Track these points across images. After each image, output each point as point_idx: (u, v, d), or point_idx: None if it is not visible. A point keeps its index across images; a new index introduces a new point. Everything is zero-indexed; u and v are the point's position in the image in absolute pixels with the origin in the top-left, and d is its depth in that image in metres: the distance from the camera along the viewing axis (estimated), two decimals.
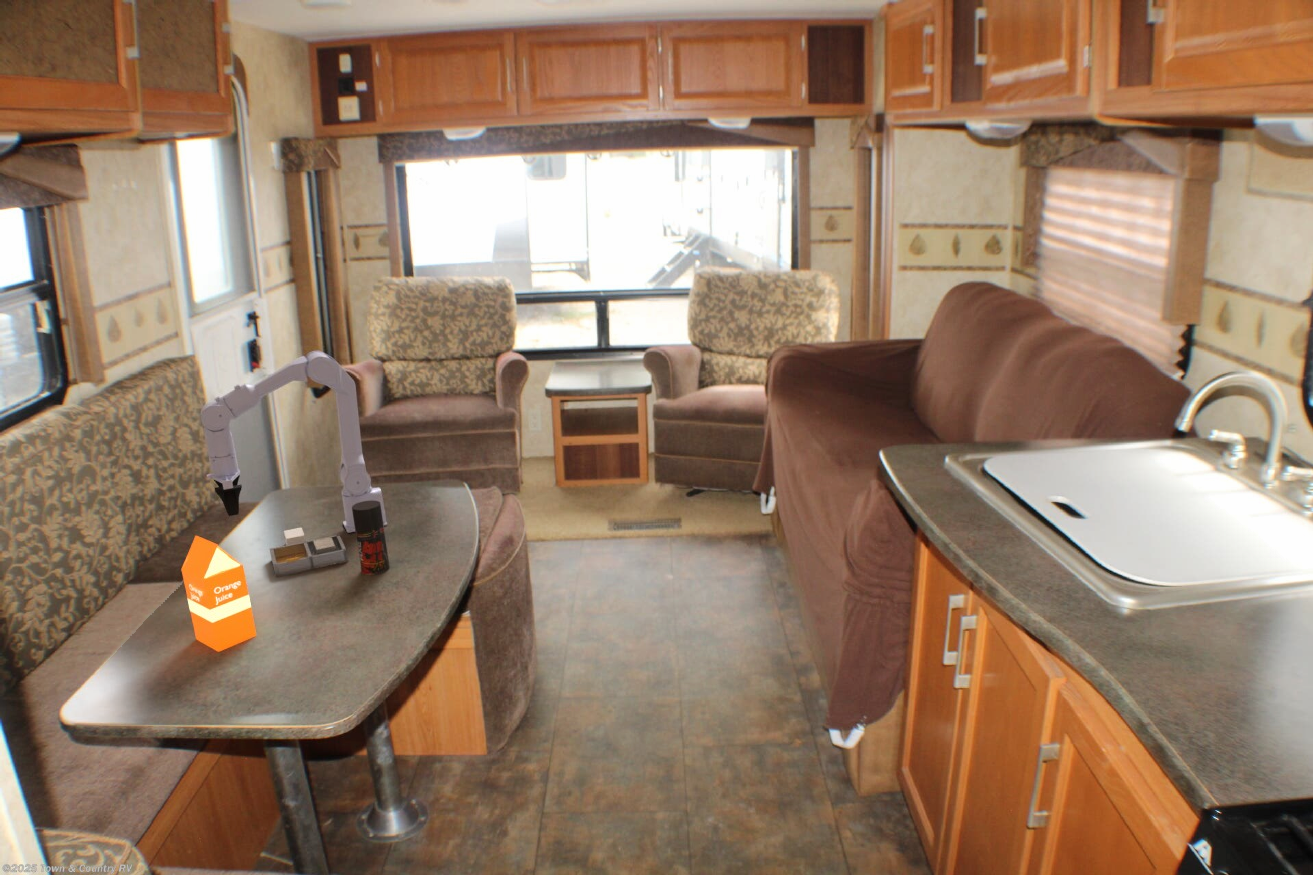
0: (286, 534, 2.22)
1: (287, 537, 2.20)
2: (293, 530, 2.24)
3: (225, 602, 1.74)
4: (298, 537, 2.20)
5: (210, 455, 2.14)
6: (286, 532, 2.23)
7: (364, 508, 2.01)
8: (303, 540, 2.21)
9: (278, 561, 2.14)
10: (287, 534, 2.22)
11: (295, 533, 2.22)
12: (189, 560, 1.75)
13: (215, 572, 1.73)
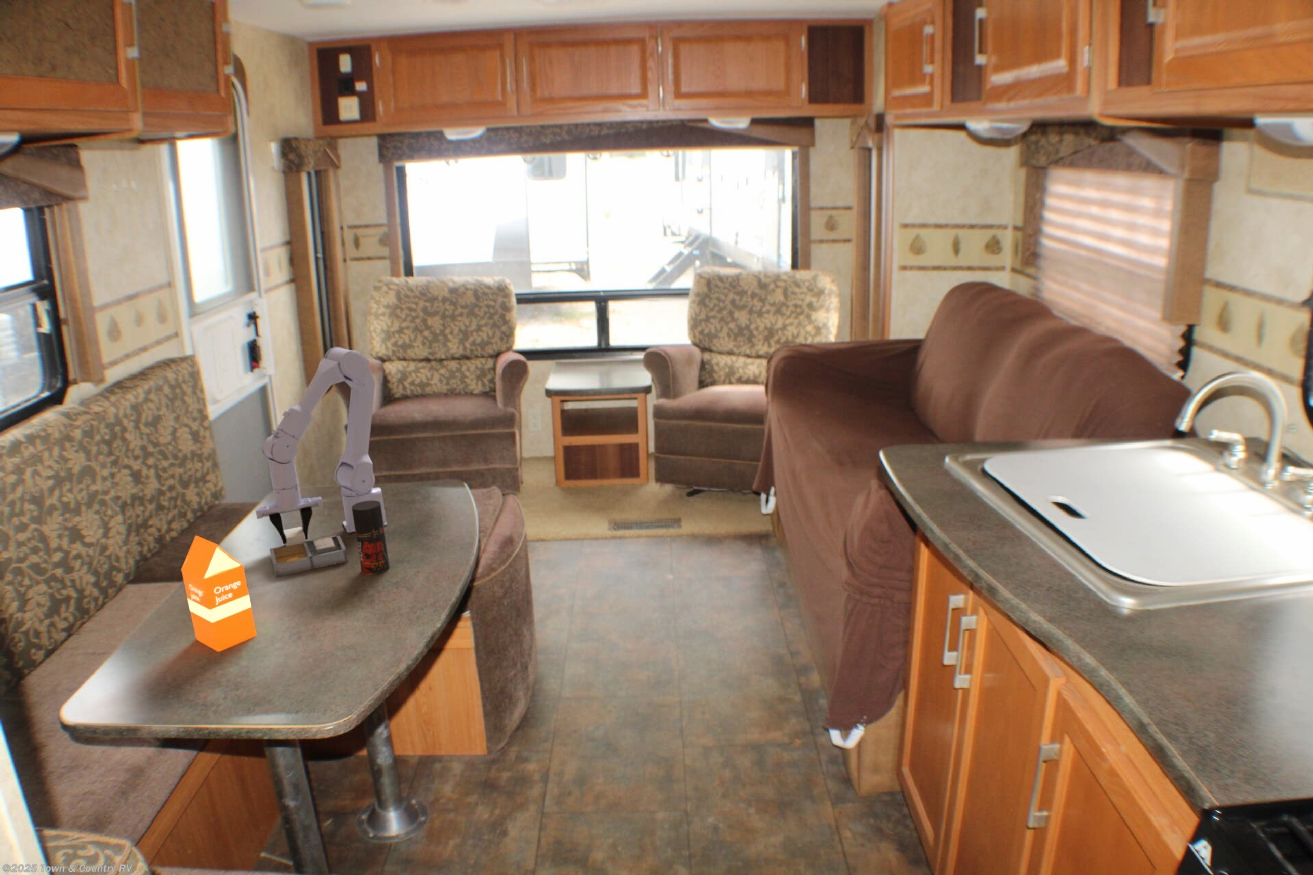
0: (286, 533, 2.22)
1: (287, 536, 2.20)
2: (293, 529, 2.24)
3: (225, 602, 1.74)
4: (298, 536, 2.20)
5: (277, 487, 2.17)
6: (286, 531, 2.23)
7: (364, 508, 2.01)
8: (303, 539, 2.21)
9: (278, 561, 2.14)
10: (287, 533, 2.22)
11: (294, 532, 2.22)
12: (189, 560, 1.75)
13: (215, 572, 1.73)
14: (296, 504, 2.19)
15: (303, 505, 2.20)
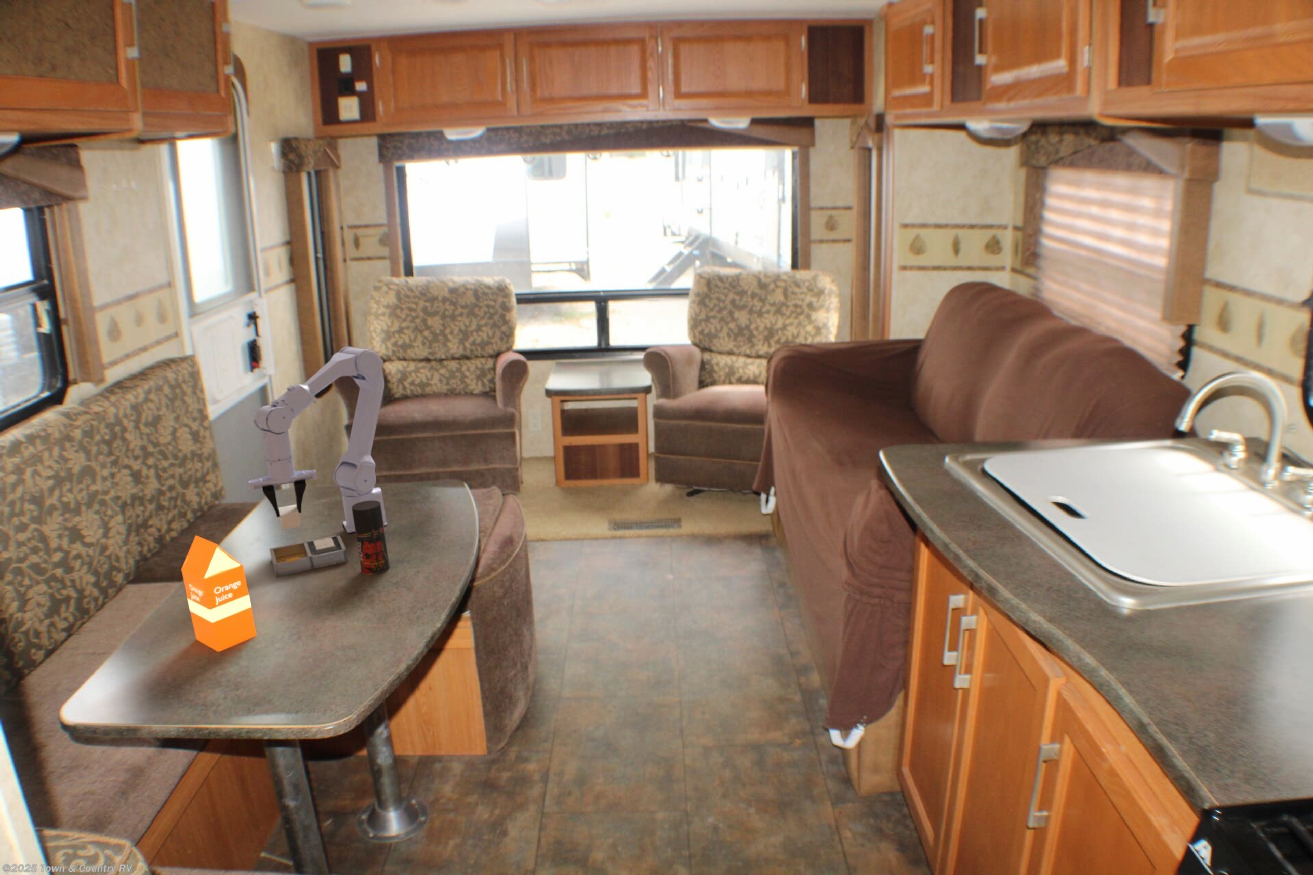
0: (280, 511, 2.18)
1: (281, 514, 2.16)
2: (287, 507, 2.20)
3: (225, 602, 1.74)
4: (292, 513, 2.16)
5: (272, 459, 2.12)
6: (280, 509, 2.19)
7: (364, 508, 2.01)
8: (297, 517, 2.17)
9: (278, 561, 2.14)
10: (281, 511, 2.18)
11: (289, 510, 2.18)
12: (189, 560, 1.75)
13: (215, 572, 1.73)
14: (290, 476, 2.15)
15: (297, 477, 2.16)
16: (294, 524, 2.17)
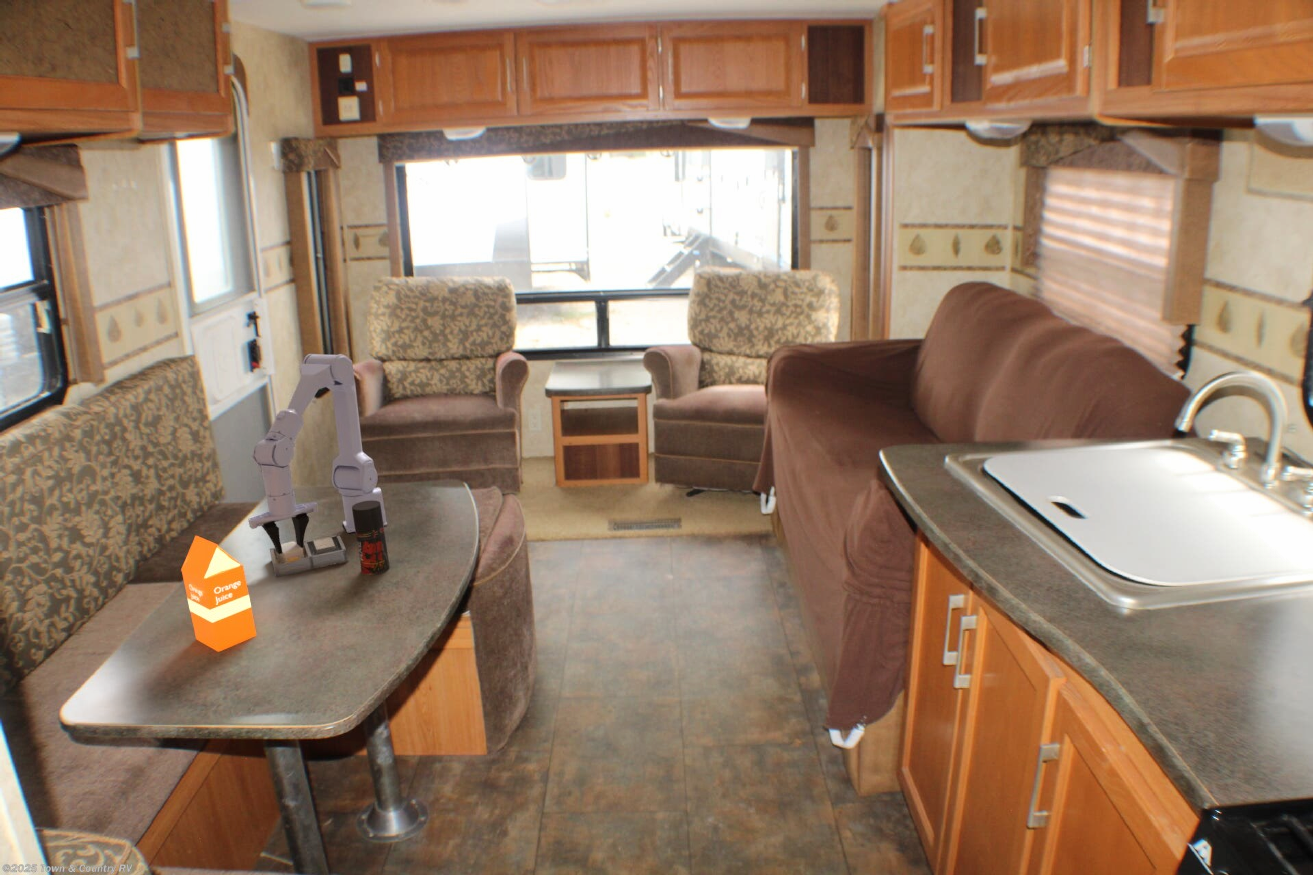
0: None
1: (284, 552, 2.09)
2: (286, 544, 2.13)
3: (225, 602, 1.74)
4: (296, 550, 2.10)
5: (277, 494, 2.05)
6: None
7: (364, 508, 2.01)
8: (301, 554, 2.11)
9: (278, 561, 2.14)
10: (283, 549, 2.11)
11: (290, 547, 2.12)
12: (189, 560, 1.75)
13: (215, 572, 1.73)
14: (293, 510, 2.08)
15: (300, 511, 2.09)
16: None
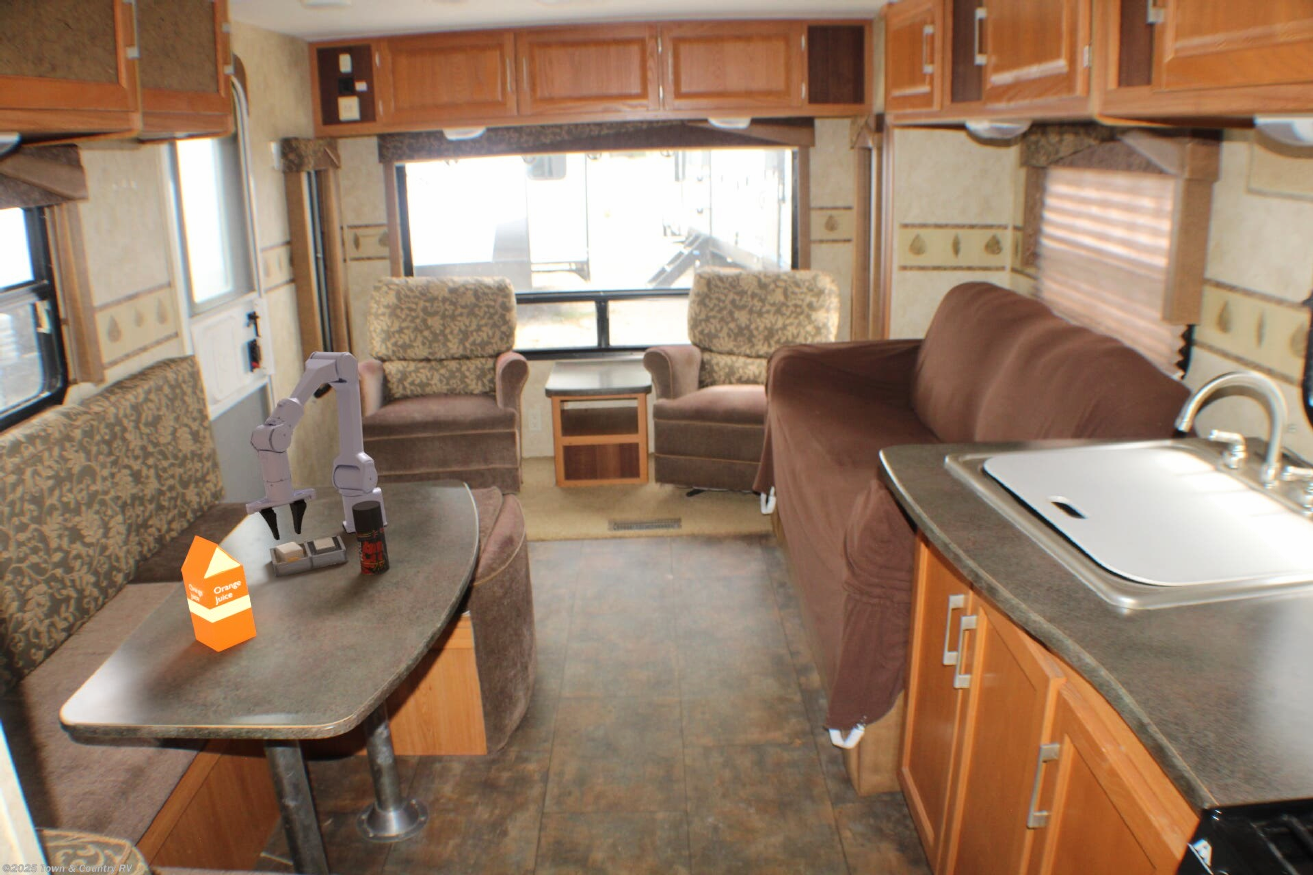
0: (281, 549, 2.11)
1: (284, 552, 2.09)
2: (286, 545, 2.13)
3: (225, 602, 1.74)
4: (296, 550, 2.10)
5: (274, 479, 2.04)
6: (280, 547, 2.12)
7: (364, 508, 2.01)
8: (301, 554, 2.11)
9: (278, 561, 2.14)
10: (283, 549, 2.11)
11: (290, 547, 2.12)
12: (189, 560, 1.75)
13: (215, 572, 1.73)
14: (290, 496, 2.07)
15: (297, 497, 2.08)
16: None
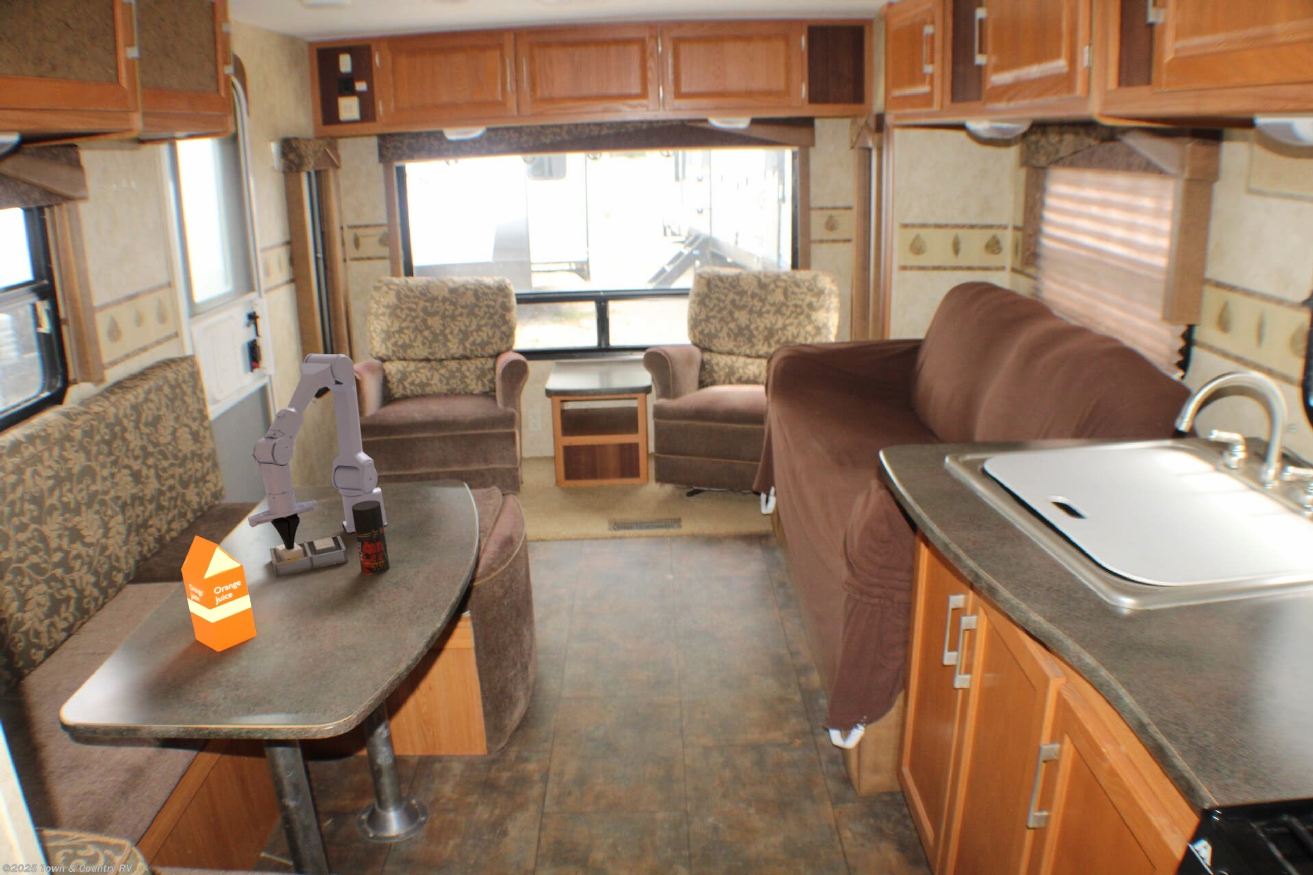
0: (281, 549, 2.11)
1: (284, 552, 2.09)
2: None
3: (225, 602, 1.74)
4: (296, 550, 2.10)
5: (276, 492, 2.05)
6: (280, 547, 2.12)
7: (364, 508, 2.01)
8: (301, 554, 2.11)
9: (278, 561, 2.14)
10: (283, 549, 2.11)
11: None
12: (189, 560, 1.75)
13: (215, 572, 1.73)
14: (293, 509, 2.08)
15: (299, 509, 2.09)
16: None
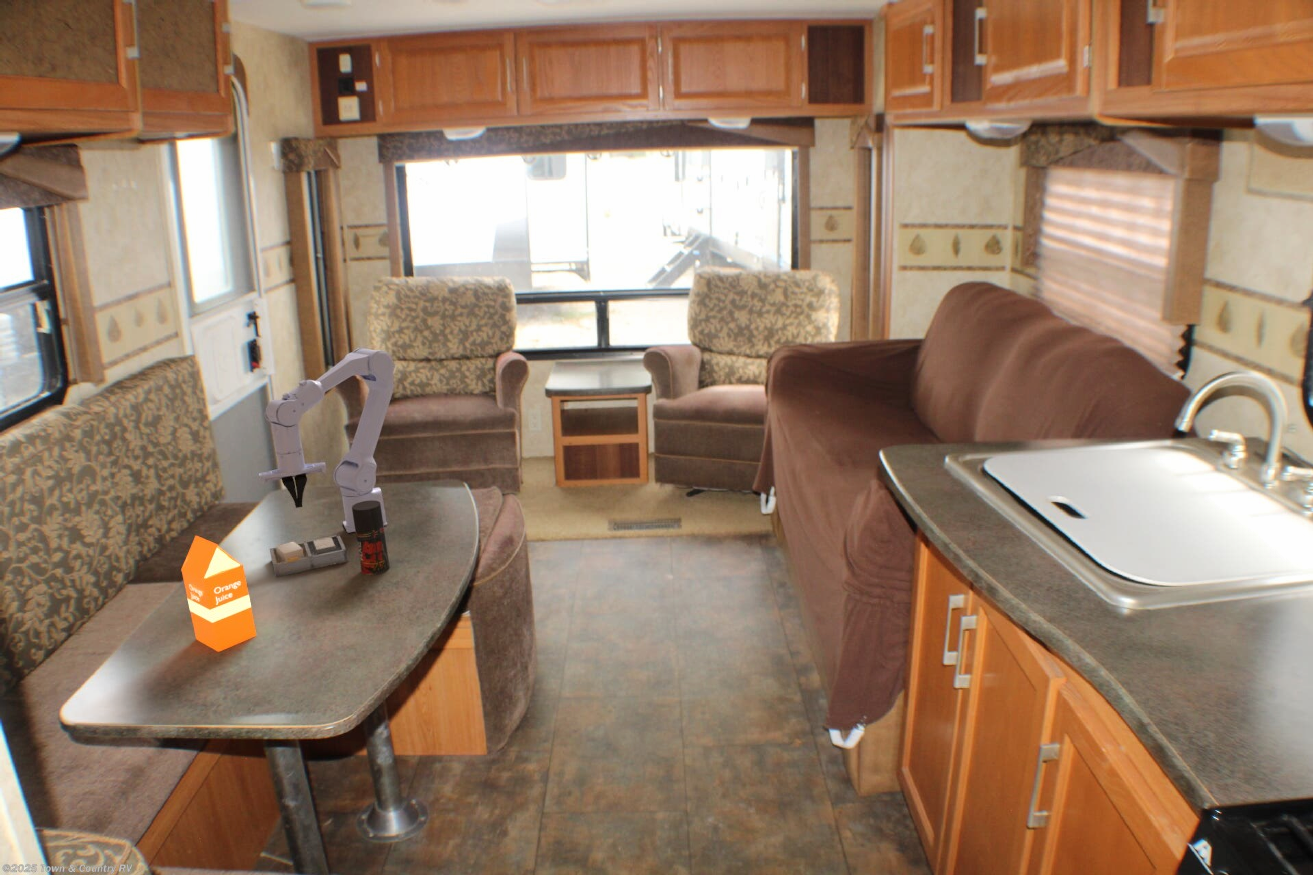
0: (281, 549, 2.11)
1: (284, 552, 2.09)
2: (286, 545, 2.13)
3: (225, 602, 1.74)
4: (296, 550, 2.10)
5: (282, 452, 2.14)
6: (280, 547, 2.12)
7: (364, 508, 2.01)
8: (301, 554, 2.11)
9: (278, 561, 2.14)
10: (283, 549, 2.11)
11: (290, 547, 2.12)
12: (189, 560, 1.75)
13: (215, 572, 1.73)
14: (300, 469, 2.17)
15: (307, 470, 2.18)
16: None
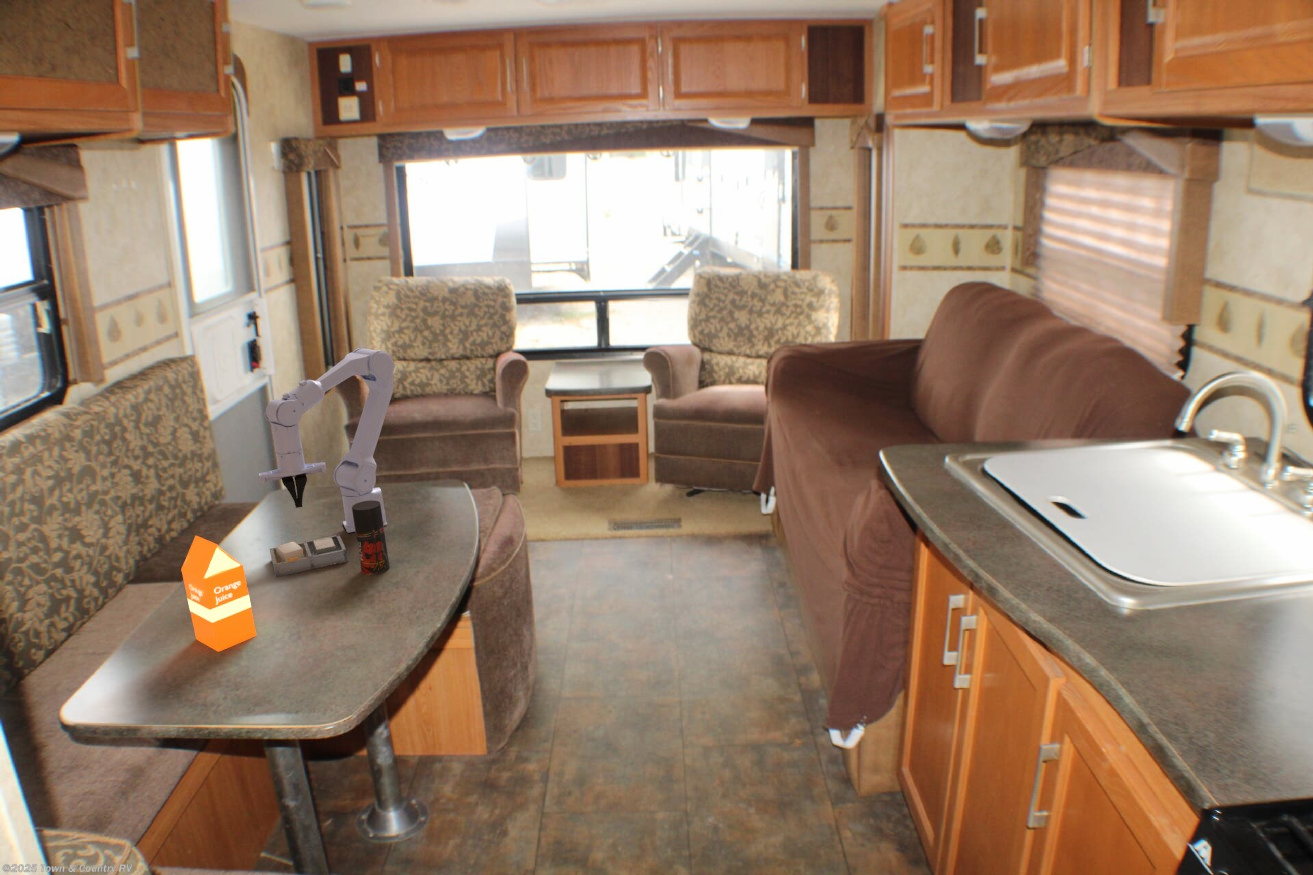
0: (281, 549, 2.11)
1: (284, 552, 2.09)
2: (286, 545, 2.13)
3: (225, 602, 1.74)
4: (296, 550, 2.10)
5: (282, 452, 2.14)
6: (280, 547, 2.12)
7: (364, 508, 2.01)
8: (301, 554, 2.11)
9: (278, 561, 2.14)
10: (283, 549, 2.11)
11: (290, 547, 2.12)
12: (189, 560, 1.75)
13: (215, 572, 1.73)
14: (300, 469, 2.17)
15: (307, 470, 2.18)
16: None
